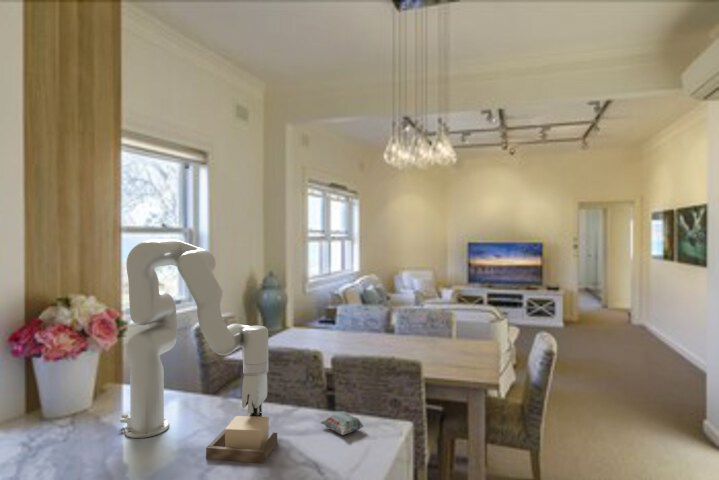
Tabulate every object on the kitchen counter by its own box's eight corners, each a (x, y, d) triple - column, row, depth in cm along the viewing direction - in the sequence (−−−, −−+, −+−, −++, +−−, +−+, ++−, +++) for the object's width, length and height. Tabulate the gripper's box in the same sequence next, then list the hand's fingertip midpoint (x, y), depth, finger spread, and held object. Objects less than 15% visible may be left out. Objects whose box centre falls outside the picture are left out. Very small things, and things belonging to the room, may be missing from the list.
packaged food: (342, 441, 132) (343, 425, 132) (319, 428, 141) (319, 412, 141) (364, 433, 138) (364, 417, 138) (340, 421, 146) (340, 406, 146)
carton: (225, 453, 124) (225, 429, 124) (235, 438, 133) (235, 415, 133) (260, 455, 124) (260, 430, 123) (268, 440, 133) (268, 416, 132)
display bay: (206, 458, 121) (206, 447, 121) (224, 439, 133) (224, 429, 133) (263, 463, 119) (263, 452, 119) (277, 442, 131) (277, 432, 130)
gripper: (253, 359, 143) (253, 415, 143) (234, 374, 128) (234, 436, 129) (275, 360, 142) (275, 417, 142) (258, 375, 127) (259, 438, 128)
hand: (255, 426), depth 135 cm, fingers closed
